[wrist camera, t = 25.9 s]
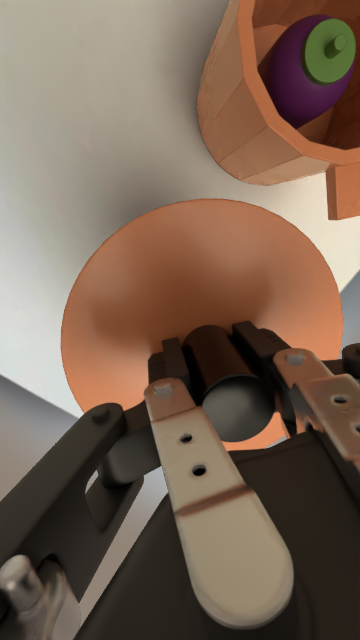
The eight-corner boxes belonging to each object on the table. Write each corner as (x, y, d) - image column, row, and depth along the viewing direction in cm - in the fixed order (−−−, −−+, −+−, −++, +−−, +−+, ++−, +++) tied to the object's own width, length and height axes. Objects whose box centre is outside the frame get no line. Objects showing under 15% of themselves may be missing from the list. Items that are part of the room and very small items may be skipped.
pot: (216, 230, 28) (263, 239, 17) (176, -13, 23) (206, -229, 12) (342, 202, 28) (467, 192, 17) (332, -43, 23) (502, -280, 12)
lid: (109, 474, 17) (93, 598, 11) (25, 235, 13) (-61, 249, 7) (334, 417, 17) (423, 510, 12) (320, 171, 13) (444, 140, 8)
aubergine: (243, 147, 26) (296, 109, 17) (234, 74, 24) (287, -13, 15) (303, 134, 26) (389, 89, 17) (298, 60, 24) (389, -33, 15)
